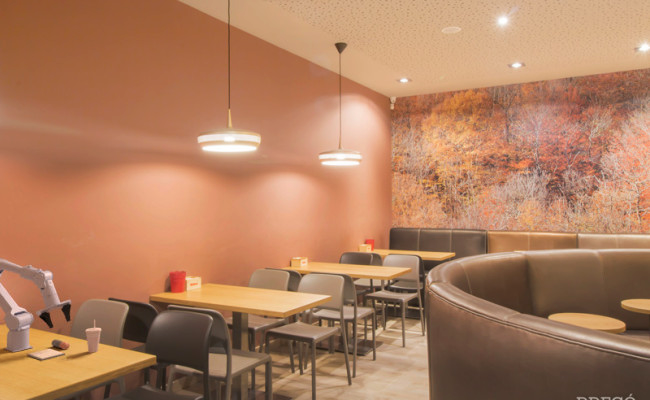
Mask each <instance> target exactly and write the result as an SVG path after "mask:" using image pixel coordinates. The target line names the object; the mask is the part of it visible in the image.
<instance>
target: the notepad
mask: <svg viewBox="0 0 650 400" xmlns="http://www.w3.org/2000/svg"><path fill="white" fill-rule="evenodd" d="M26 356H28V357H30V358H32V359H36V360H39V361H46V360H51V359H54V358H57V357H62V356H66V353H64V352H61V351H58V350H56V349H52V348H47V349H43V350H39V351H34V352H30V353H28V354H26Z"/></svg>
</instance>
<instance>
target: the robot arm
mask: <svg viewBox="0 0 650 400" xmlns="http://www.w3.org/2000/svg"><path fill="white" fill-rule="evenodd" d="M4 271H6V272H11V273H14V274H18V275H19V277H20V278H22V279H24V280H26V281H27V280H28V281H31V282H32V283H33V284H34V285H36V286H37V289H39V292H40V295H41V297H42V300H43V302H44V306H45V308H42V309H39V310H36V311H35V313H36V316H37V317H38V316H39V319H41V320H42V321H43V322H44V323H45V324H46V325H47V327H48V328H49V329H50V330H51V329H53V328H54V323H53V321H52V319H51V314H50V313H51V312H52V311H54V310H57V309H60V310H61V312H62V313H63V315H64V319H65V321H66V322H67V323H68V322H70V321H71V309H72V308H71V307H72V300H71V299H67V300H64V301H62V302H61V300H60V297H59V295H58V292H57V290H56V288H55V284H54V282H53V280H54V273H53V272H52V271H50V270H48V269H45V270H42V268H36V267H33V265H31V264H28V265H25V266H22V265H19V264H17V263H14V262H12V261H9V260H8V259H3V258H1V257H0V278H1V277H2V274H3V273H4ZM0 308H1V310H2V311H3V312H4V314H5V315H4V318H3V320H4V322H5V325H6V328H7V329H8V332H7V334H6V347H4V350H7V351H9V352H13V353H16V352H19V351H23V350H29V349H33V348H34V346H33V345H30V328H31V325H32V324H33V322H34V315H33V314H32V313H31V312H29V311H27V310H26V308H24V307H21V306H19V305H18V304H17V303H16V301H15V300H14V299H13V298H12V296H11V294H10V293H9V292H8V291H7V289H6V288H5V287H4V286H3V284H2V283H1V282H0Z"/></svg>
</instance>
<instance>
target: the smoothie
mask: <svg viewBox="0 0 650 400" xmlns="http://www.w3.org/2000/svg"><path fill="white" fill-rule="evenodd" d="M84 332H85V334H86V335H85V336H86V341H87V344H86V345H87V350H88V353H91V354H93V353H97V352H98V351H99V347H100V346H99V345H100V340H101V339H100V338H101V332H102V327H96V319H93V327H91V328H87V329H85V331H84Z"/></svg>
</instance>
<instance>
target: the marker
mask: <svg viewBox="0 0 650 400" xmlns="http://www.w3.org/2000/svg"><path fill="white" fill-rule="evenodd" d="M50 343H51V346H53V347H54V348H58V349H61V350H68V349H69V348H70V343H69V342H67V341H62V340H59V339H53V340H52V341H51V342H50Z"/></svg>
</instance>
